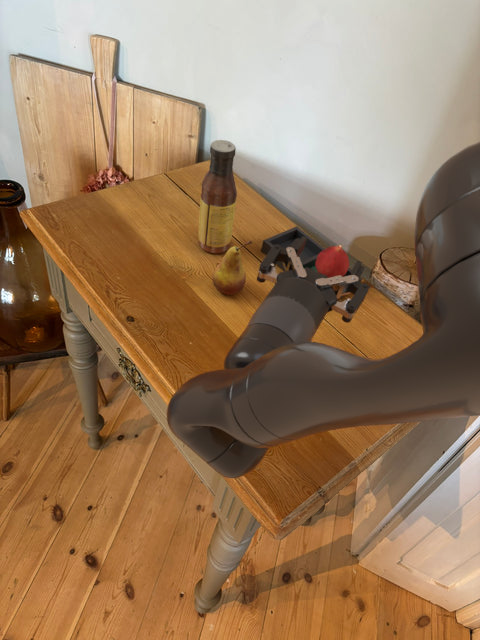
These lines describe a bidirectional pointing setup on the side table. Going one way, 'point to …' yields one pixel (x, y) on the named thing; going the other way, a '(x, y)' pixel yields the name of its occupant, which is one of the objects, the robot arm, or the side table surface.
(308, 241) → the tray
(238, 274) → the fruit
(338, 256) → the onion
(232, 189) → the sauce bottle
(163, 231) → the side table surface
